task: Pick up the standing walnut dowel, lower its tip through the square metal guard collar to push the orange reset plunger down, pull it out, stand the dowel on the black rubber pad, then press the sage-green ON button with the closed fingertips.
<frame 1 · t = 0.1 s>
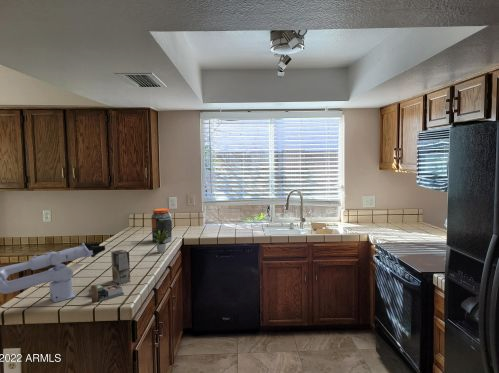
hand: (101, 246, 188), 22 cm above the worktop, tool horizontal, fingers open, 7 cm apart
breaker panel: (106, 294, 180), on the worktop
reset plunger: (112, 289, 179), point 3 cm above the worktop, slide at 0.0 cm
on button: (97, 288, 180), point 3 cm above the worktop, slide at 0.0 cm
jar with orange lid: (162, 241, 294), on the worktop
house plant: (161, 252, 259), on the worktop
walnut stylus: (95, 301, 171), on the worktop
coffee box: (121, 281, 200), on the worktop
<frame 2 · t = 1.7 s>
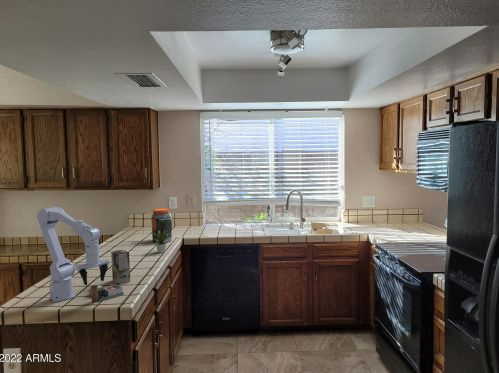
hand: (94, 282, 170), 9 cm above the worktop, tool pointing down, fingers open, 7 cm apart
nothing on the worktop moved.
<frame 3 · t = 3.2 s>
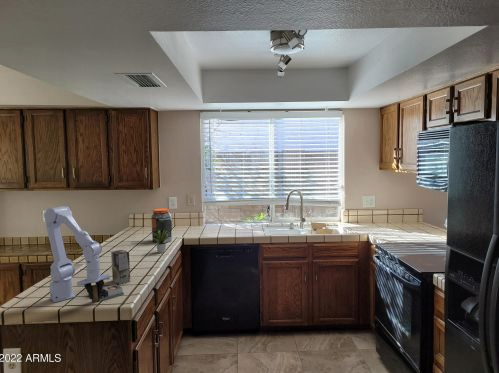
hand: (94, 297, 171), 2 cm above the worktop, tool pointing down, fingers closed on walnut stylus, 3 cm apart
walnut stylus: (95, 301, 171), on the worktop, touching gripper
everything else where it was.
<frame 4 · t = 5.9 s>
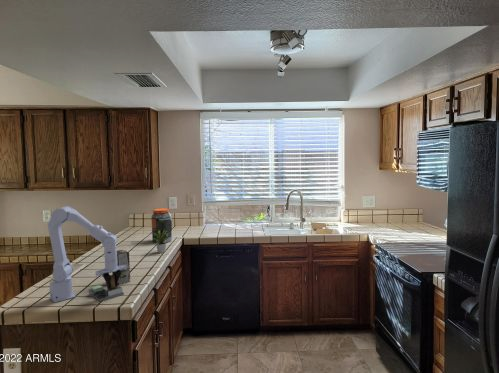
hand: (112, 286, 179), 4 cm above the worktop, tool pointing down, fingers closed on walnut stylus, 3 cm apart
reset plunger: (112, 291, 179), point 2 cm above the worktop, slide at 1.0 cm, touching walnut stylus
walnut stylus: (112, 290, 179), point 2 cm above the worktop, touching gripper, reset plunger
everything else where it was.
when the fingers open (3 cm above the worktop, at t = 8.3 s): walnut stylus stays where it is, resting on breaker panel.
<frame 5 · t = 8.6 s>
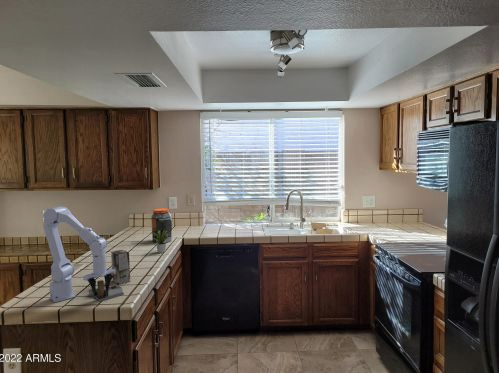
hand: (100, 291, 174), 3 cm above the worktop, tool pointing down, fingers open, 5 cm apart
reset plunger: (112, 291, 179), point 2 cm above the worktop, slide at 1.0 cm
walnut stylus: (101, 296, 174), point 1 cm above the worktop, touching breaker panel
everything else where it was.
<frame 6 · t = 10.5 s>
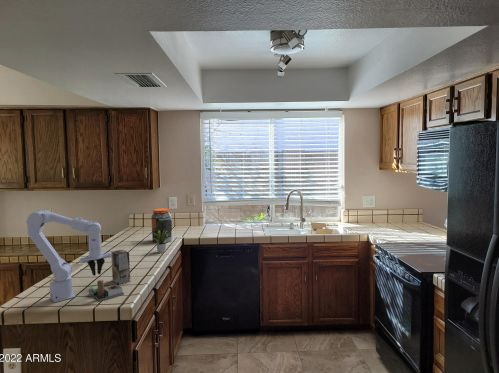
hand: (96, 274, 180), 10 cm above the worktop, tool pointing down, fingers closed
nothing on the worktop moved.
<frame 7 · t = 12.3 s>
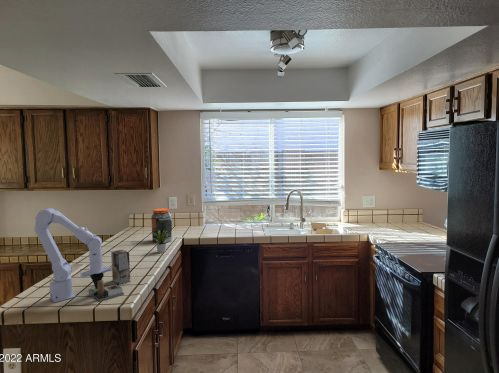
hand: (97, 288, 180), 3 cm above the worktop, tool pointing down, fingers closed, pressing on on button
on button: (97, 290, 180), point 2 cm above the worktop, slide at 0.7 cm, touching gripper
everything else where it was.
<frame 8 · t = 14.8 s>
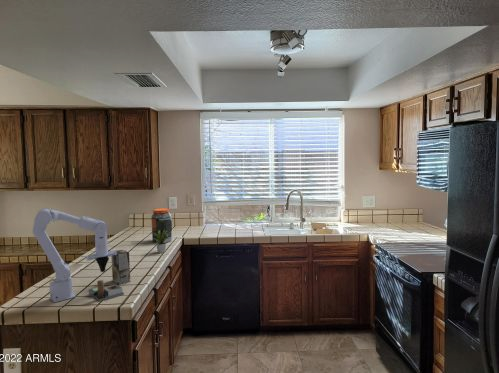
hand: (102, 271, 184), 10 cm above the worktop, tool pointing down, fingers closed
on button: (97, 290, 180), point 2 cm above the worktop, slide at 0.9 cm
everything else where it was.
at the end: reset plunger slide at 1.0 cm; on button slide at 0.9 cm; walnut stylus 0.2 cm from the target spot, point 1.0 cm above the worktop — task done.
